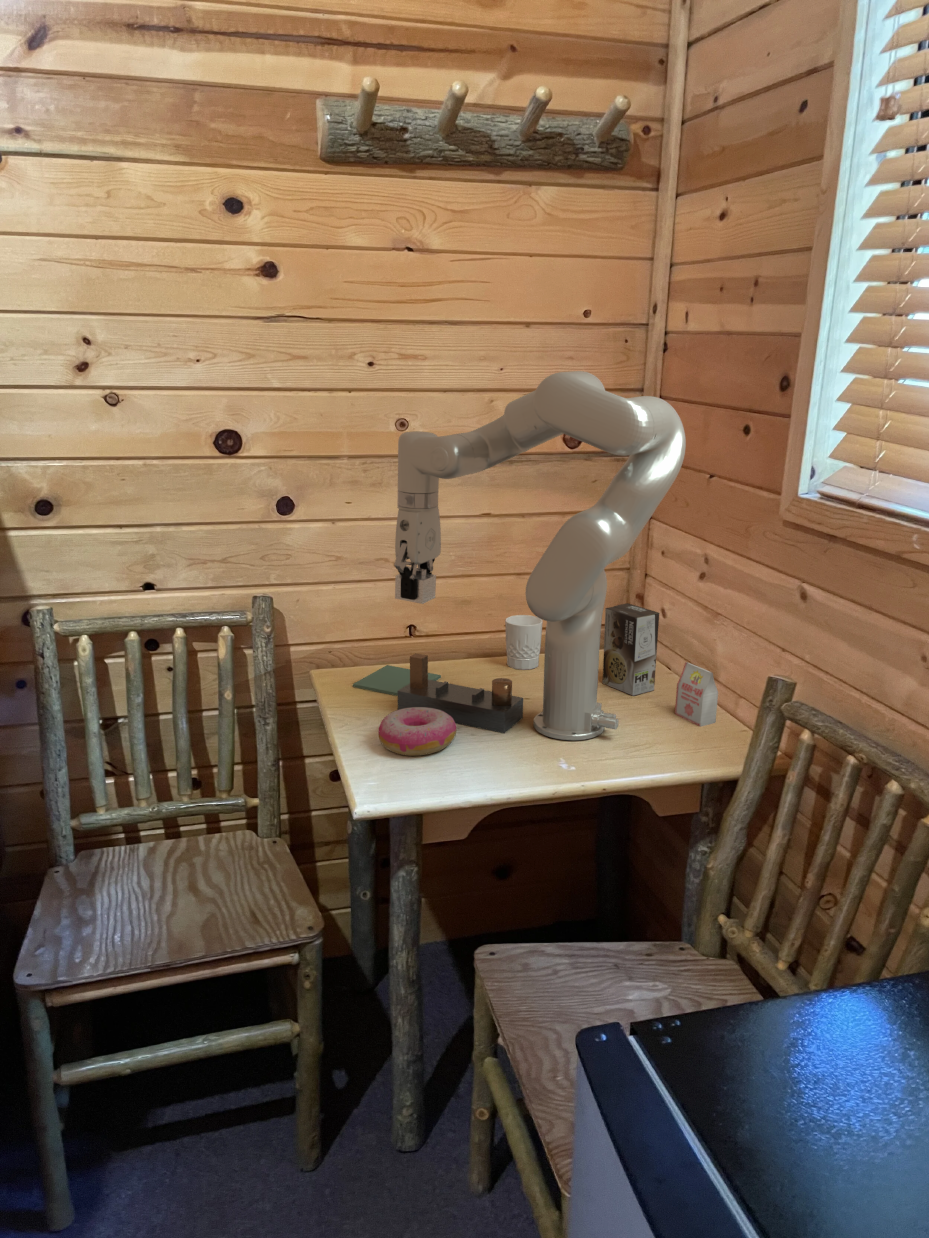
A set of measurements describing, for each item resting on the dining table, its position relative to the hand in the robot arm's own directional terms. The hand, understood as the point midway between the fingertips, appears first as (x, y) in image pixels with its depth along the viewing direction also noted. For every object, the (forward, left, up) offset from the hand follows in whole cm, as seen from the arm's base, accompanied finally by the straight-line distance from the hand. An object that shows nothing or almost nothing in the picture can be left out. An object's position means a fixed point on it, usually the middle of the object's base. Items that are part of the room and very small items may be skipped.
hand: (416, 594), depth 176 cm
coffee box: (-35, -23, -20) cm, 47 cm away
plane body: (-12, +6, -20) cm, 24 cm away
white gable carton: (-51, -13, -20) cm, 57 cm away
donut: (-12, +20, -21) cm, 31 cm away
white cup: (-11, -25, -20) cm, 35 cm away
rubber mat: (+7, -3, -20) cm, 22 cm away
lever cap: (0, 0, -1) cm, 1 cm away
